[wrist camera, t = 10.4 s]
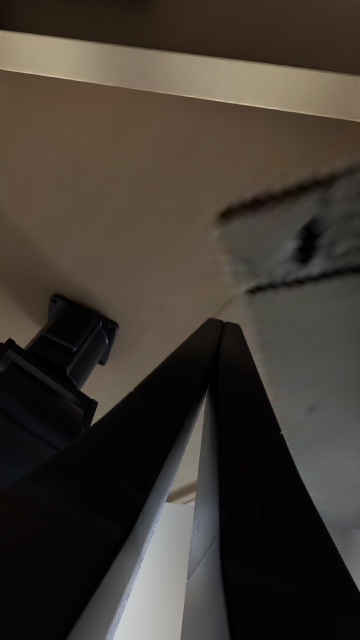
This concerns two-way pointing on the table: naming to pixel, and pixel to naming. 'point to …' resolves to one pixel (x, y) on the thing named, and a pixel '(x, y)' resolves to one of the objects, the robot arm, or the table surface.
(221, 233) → the table surface
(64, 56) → the corner bracket
